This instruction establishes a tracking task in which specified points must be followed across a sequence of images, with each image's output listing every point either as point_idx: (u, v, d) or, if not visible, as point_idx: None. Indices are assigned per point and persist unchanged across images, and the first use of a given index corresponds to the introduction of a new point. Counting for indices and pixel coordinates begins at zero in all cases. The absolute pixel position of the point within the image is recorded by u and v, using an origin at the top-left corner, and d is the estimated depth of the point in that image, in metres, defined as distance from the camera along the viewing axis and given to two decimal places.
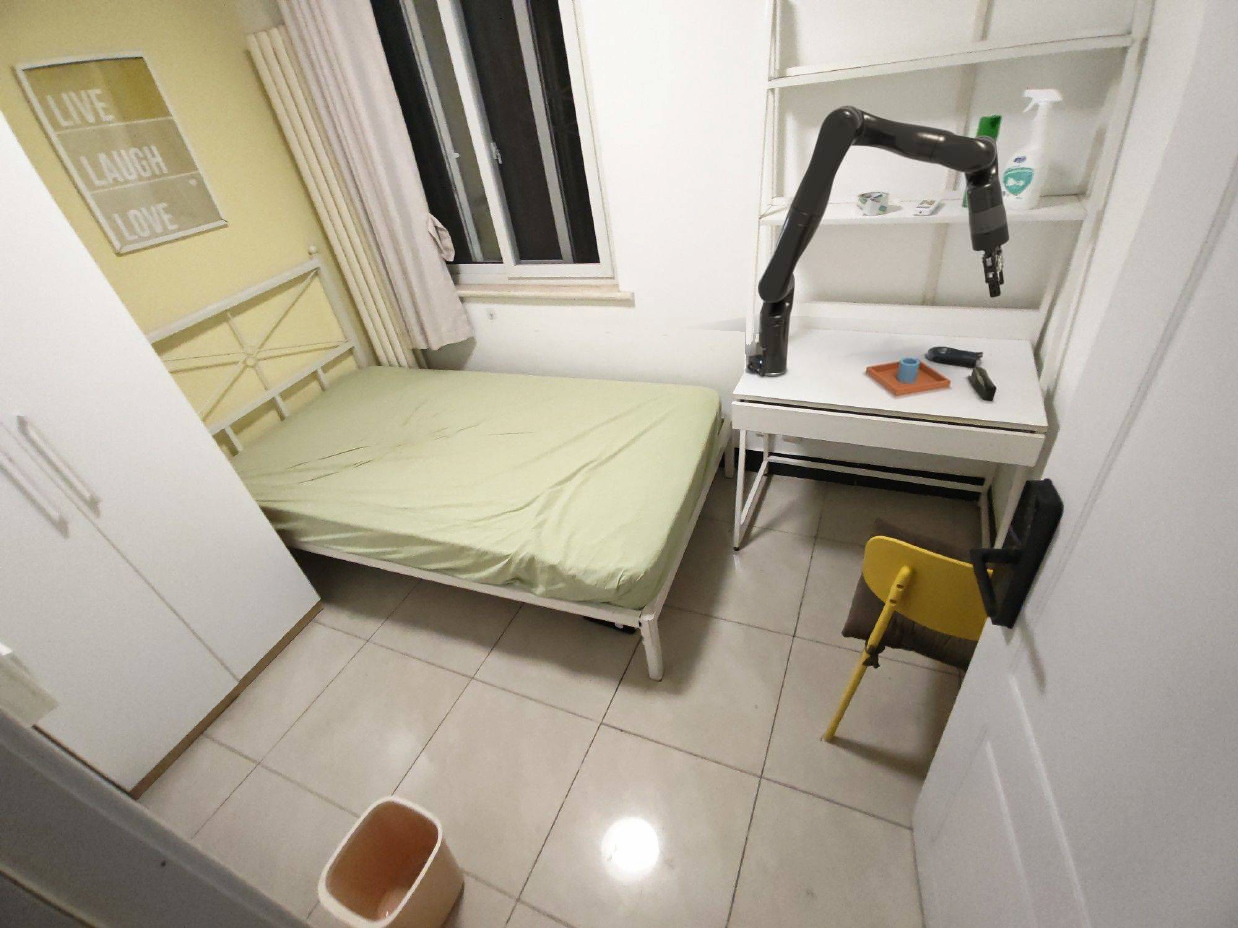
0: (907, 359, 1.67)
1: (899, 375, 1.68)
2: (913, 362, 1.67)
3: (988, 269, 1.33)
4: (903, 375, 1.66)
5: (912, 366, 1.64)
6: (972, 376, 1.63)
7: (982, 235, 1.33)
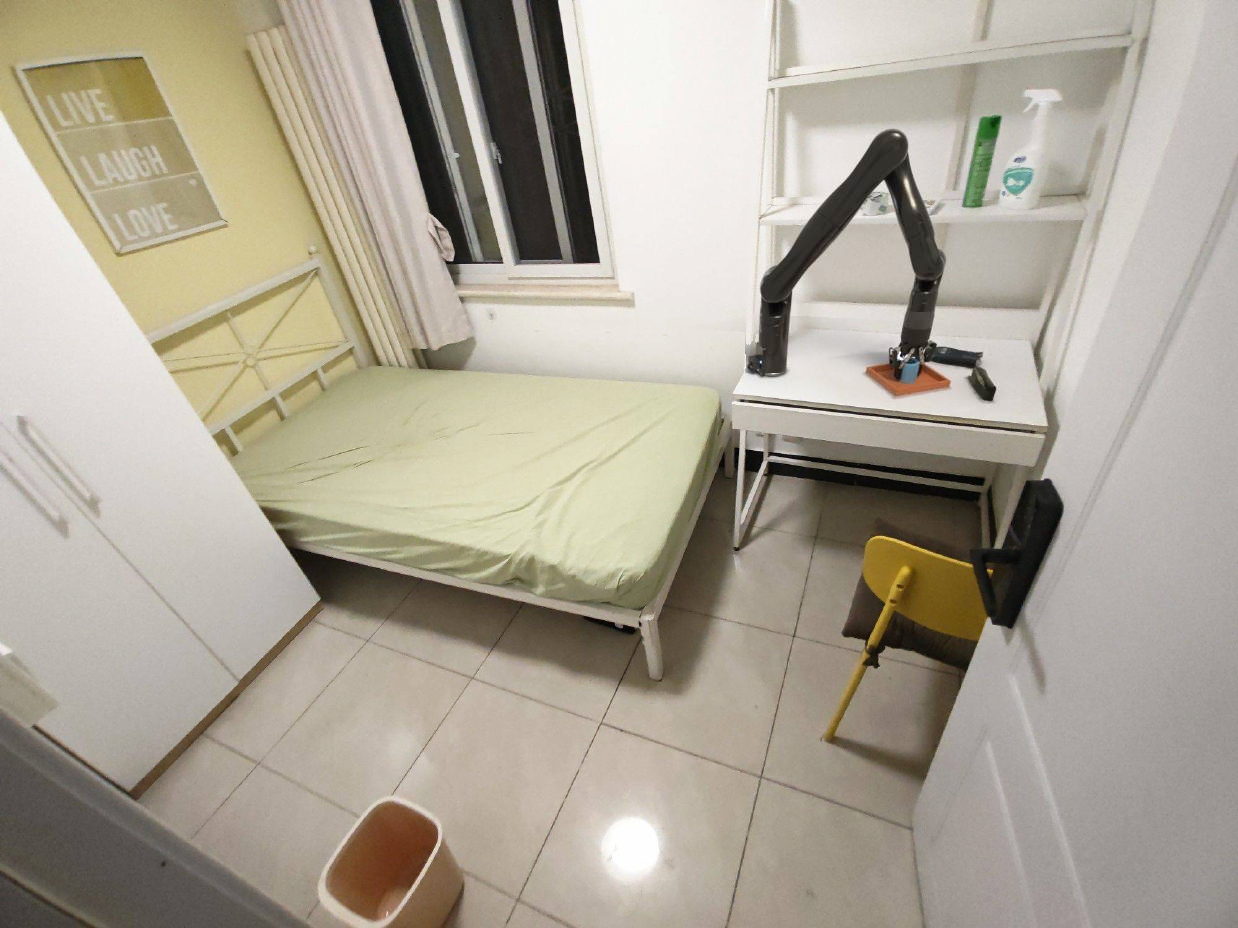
0: None
1: None
2: (913, 362, 1.67)
3: (890, 357, 1.64)
4: (903, 375, 1.66)
5: (912, 366, 1.64)
6: (972, 376, 1.63)
7: (903, 327, 1.60)
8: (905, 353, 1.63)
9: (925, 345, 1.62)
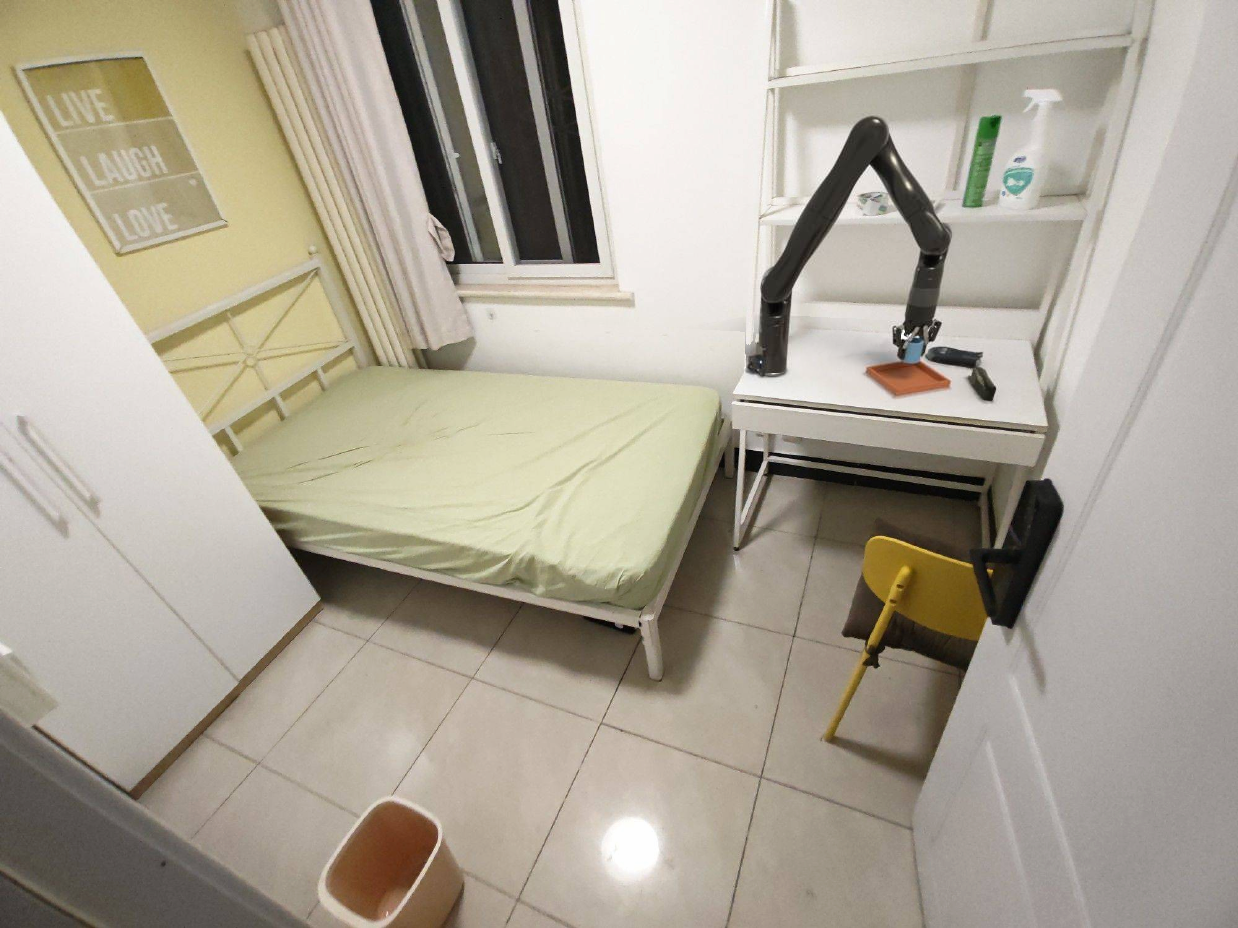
0: None
1: None
2: (917, 342, 1.63)
3: (894, 335, 1.60)
4: (907, 355, 1.63)
5: (916, 345, 1.60)
6: (972, 376, 1.63)
7: (907, 305, 1.56)
8: (909, 332, 1.59)
9: (930, 324, 1.59)
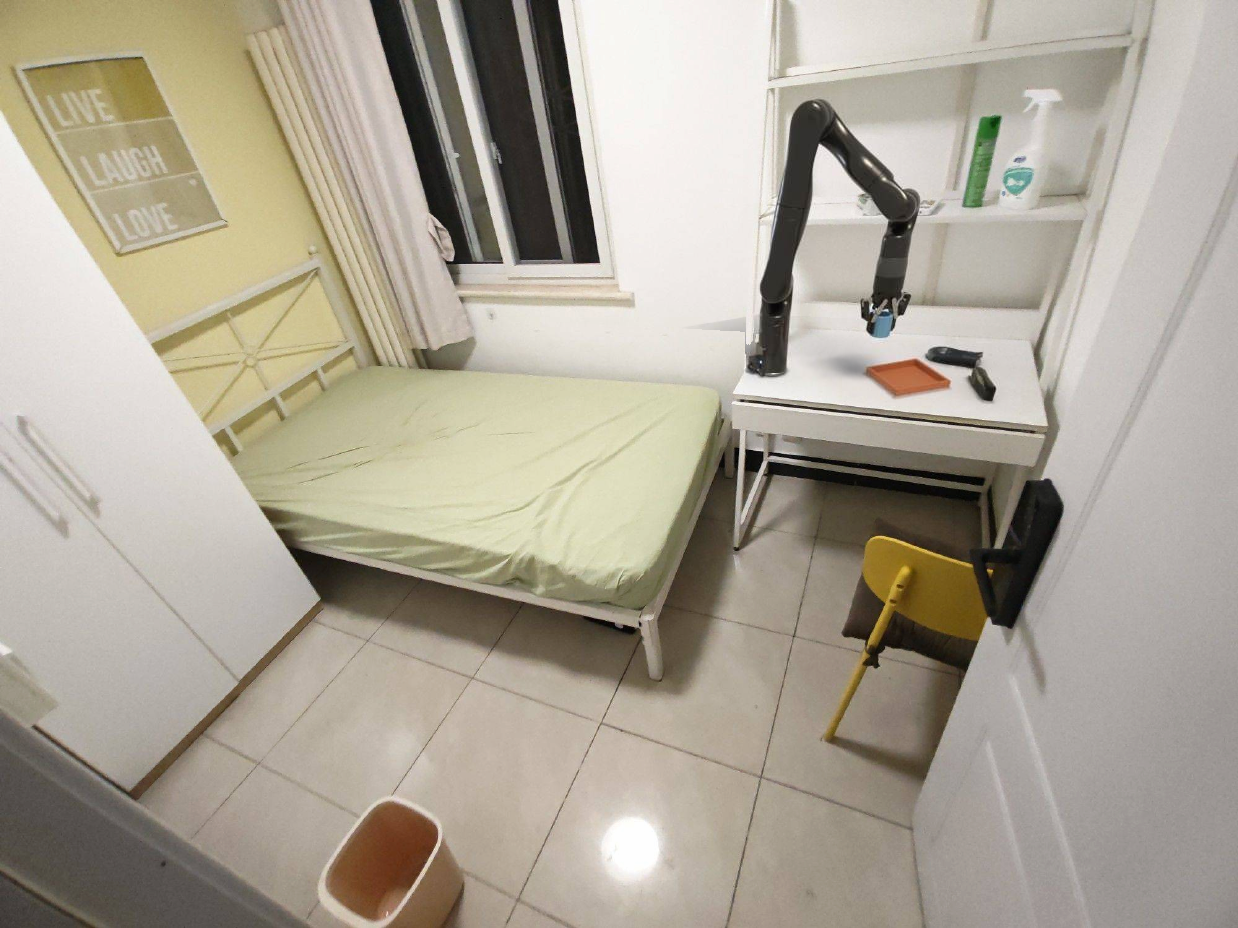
0: None
1: None
2: (886, 315, 1.58)
3: (862, 309, 1.55)
4: (876, 329, 1.57)
5: (885, 319, 1.55)
6: (972, 376, 1.63)
7: (875, 276, 1.51)
8: (877, 305, 1.54)
9: (898, 296, 1.53)
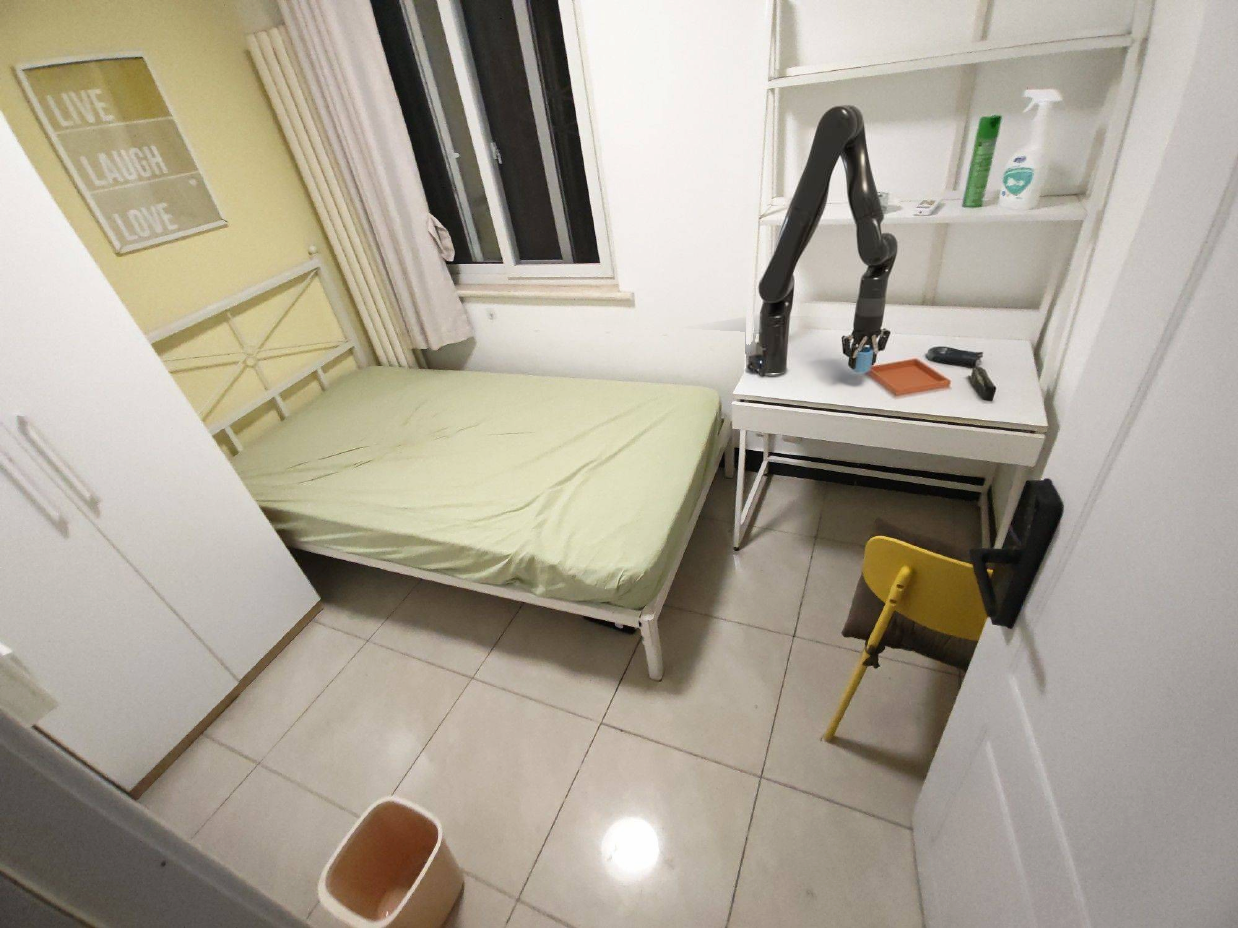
0: None
1: None
2: (867, 351, 1.63)
3: (843, 345, 1.60)
4: (857, 364, 1.63)
5: (866, 355, 1.60)
6: (972, 376, 1.63)
7: (855, 315, 1.56)
8: (858, 341, 1.59)
9: (878, 333, 1.59)
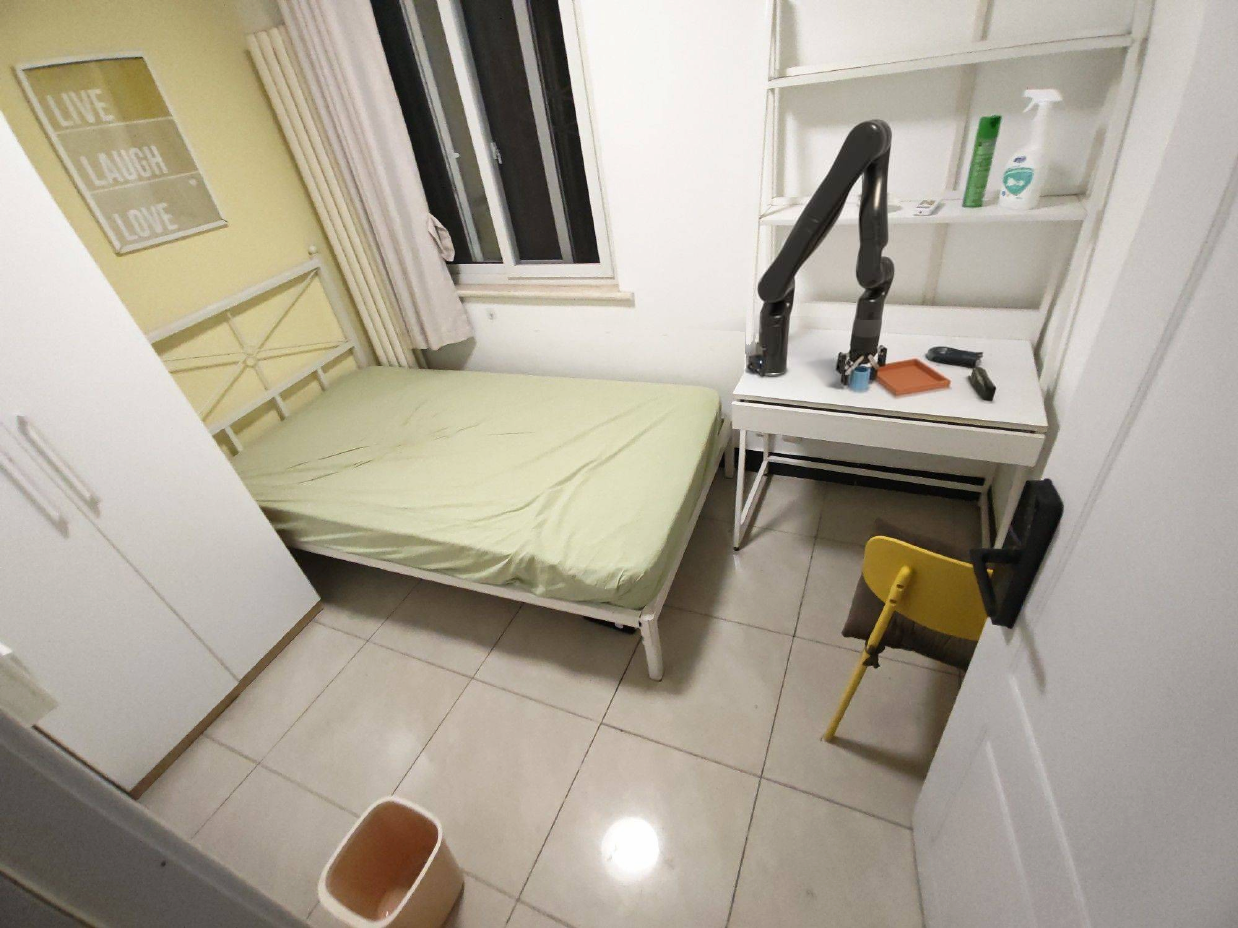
0: (859, 367, 1.67)
1: (851, 383, 1.68)
2: (864, 370, 1.67)
3: (838, 361, 1.63)
4: (854, 383, 1.66)
5: (863, 374, 1.64)
6: (972, 376, 1.63)
7: (852, 335, 1.60)
8: (854, 361, 1.62)
9: (874, 353, 1.62)
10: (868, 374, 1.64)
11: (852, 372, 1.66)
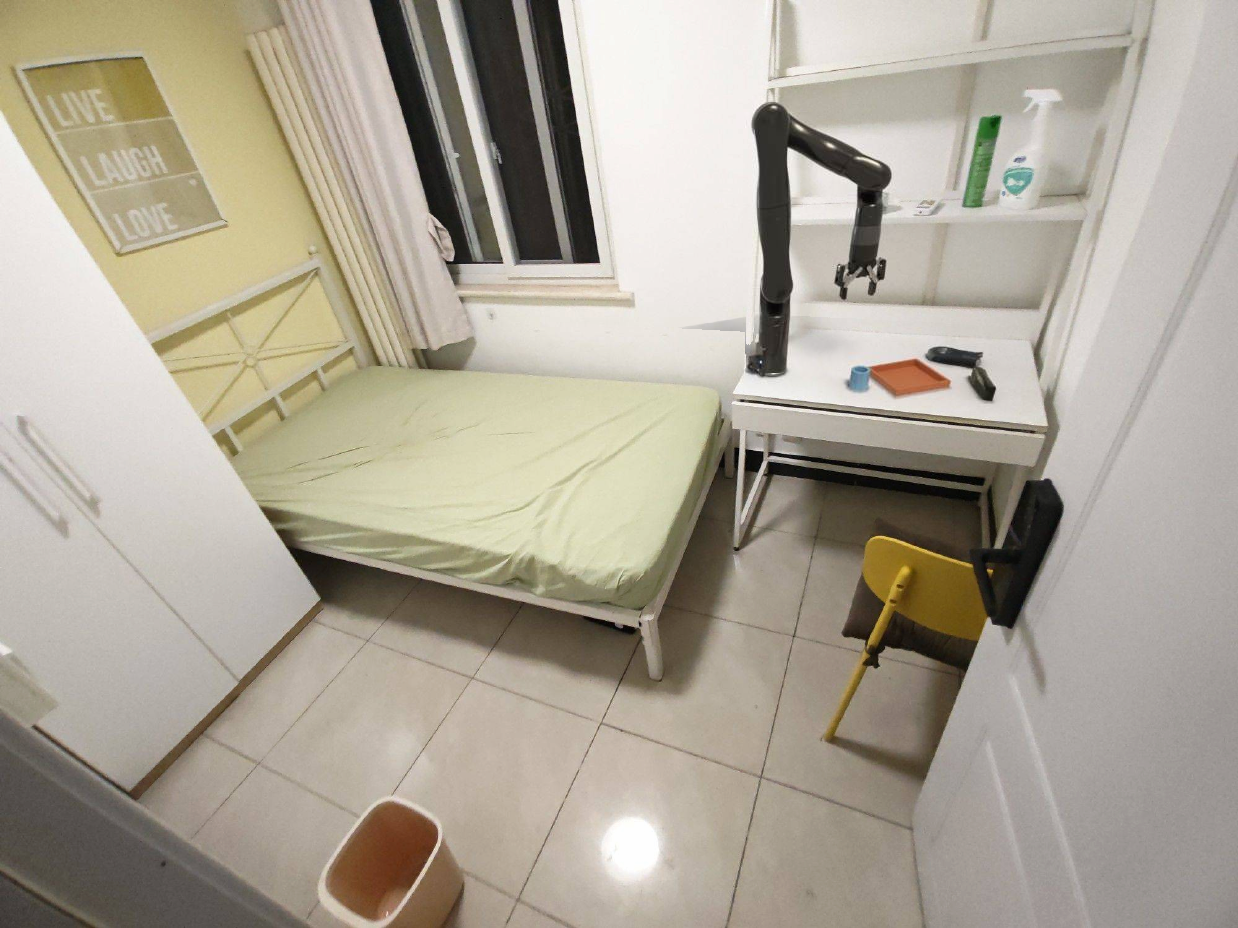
0: (859, 367, 1.67)
1: (851, 383, 1.68)
2: (864, 370, 1.67)
3: (837, 273, 1.62)
4: (854, 383, 1.66)
5: (863, 374, 1.64)
6: (972, 376, 1.63)
7: (850, 245, 1.59)
8: (853, 272, 1.61)
9: (873, 264, 1.61)
10: (868, 374, 1.64)
11: (852, 372, 1.66)
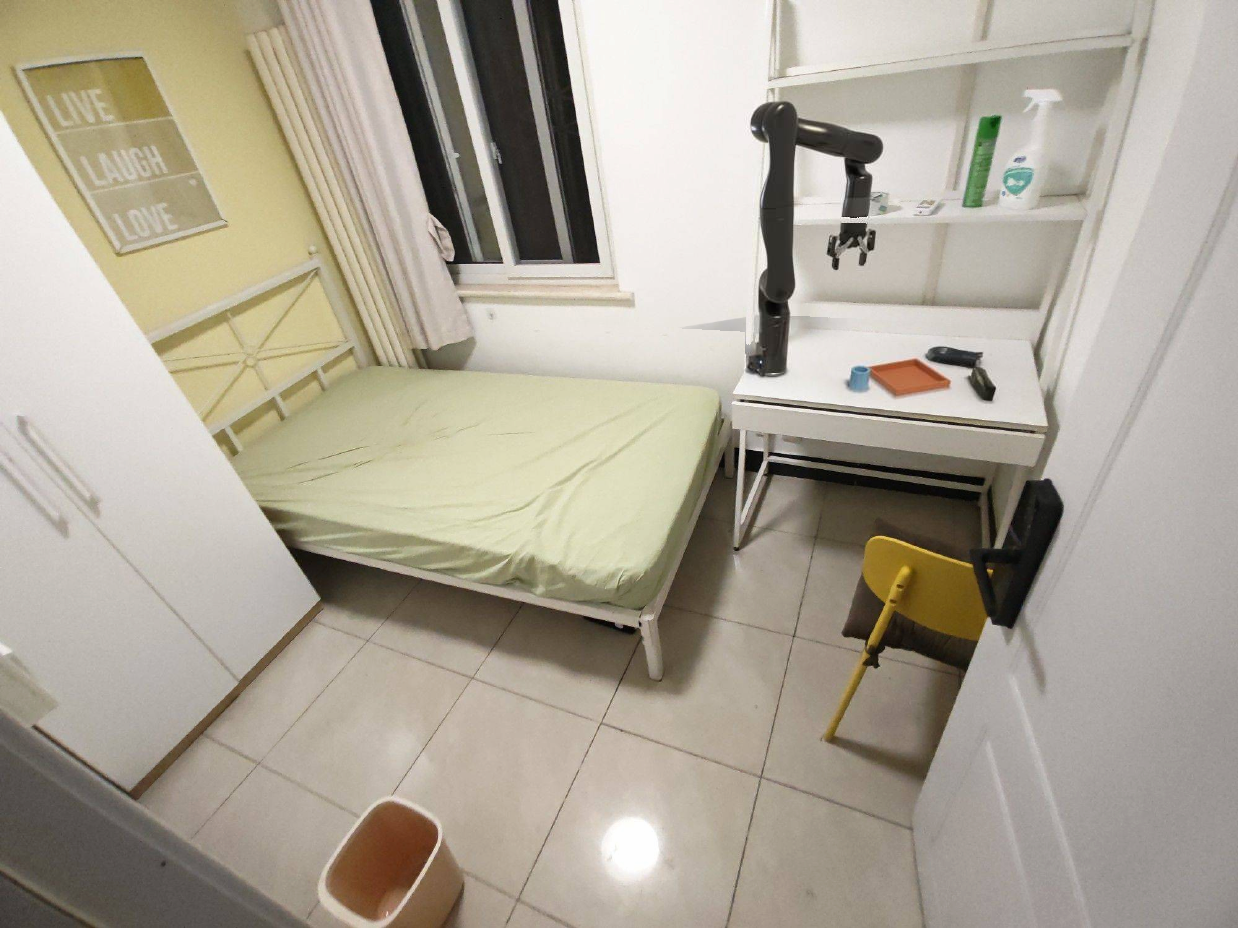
0: (859, 367, 1.67)
1: (851, 383, 1.68)
2: (864, 370, 1.67)
3: (829, 244, 1.70)
4: (854, 383, 1.66)
5: (863, 374, 1.64)
6: (972, 376, 1.63)
7: (842, 216, 1.67)
8: (844, 243, 1.69)
9: (863, 235, 1.69)
10: (868, 374, 1.64)
11: (852, 372, 1.66)
